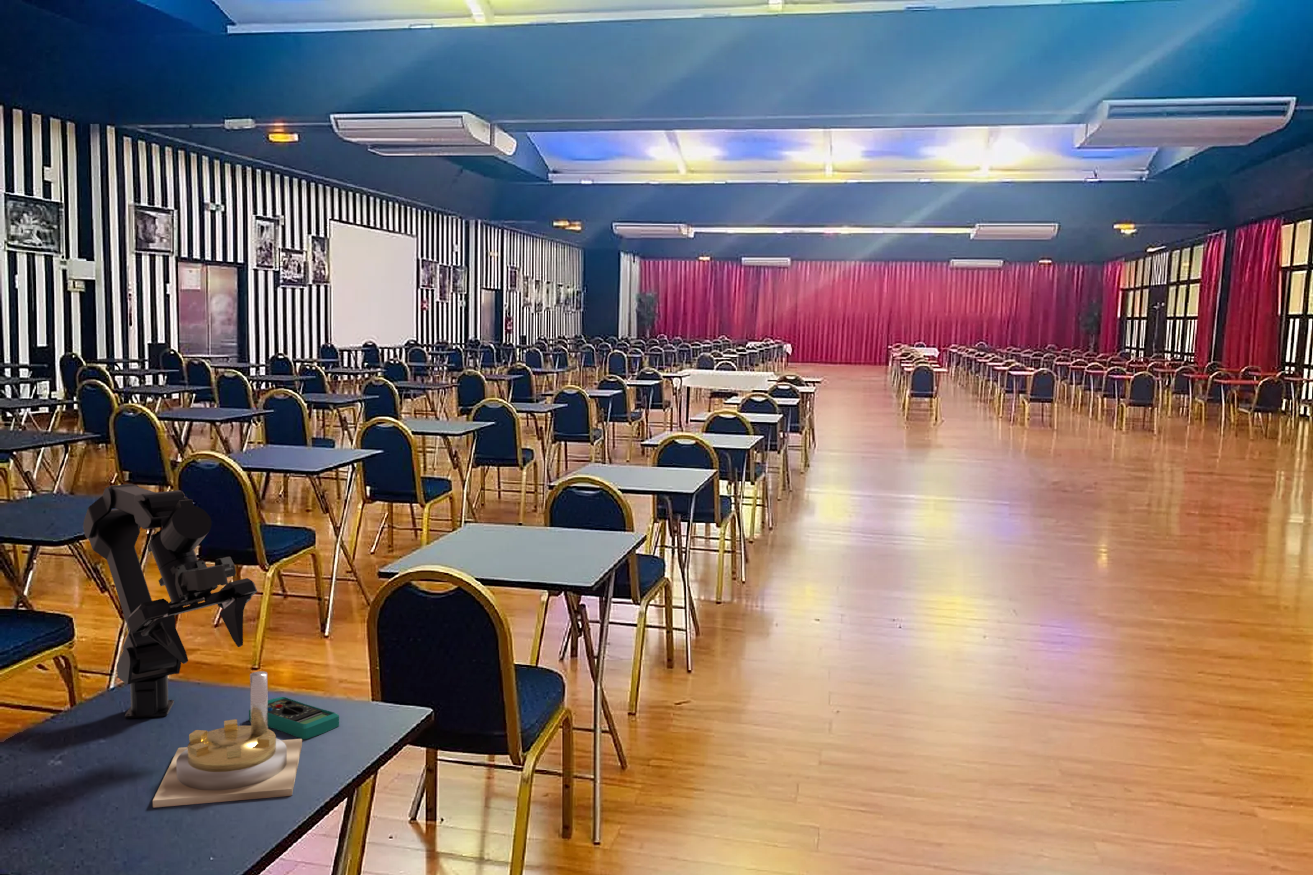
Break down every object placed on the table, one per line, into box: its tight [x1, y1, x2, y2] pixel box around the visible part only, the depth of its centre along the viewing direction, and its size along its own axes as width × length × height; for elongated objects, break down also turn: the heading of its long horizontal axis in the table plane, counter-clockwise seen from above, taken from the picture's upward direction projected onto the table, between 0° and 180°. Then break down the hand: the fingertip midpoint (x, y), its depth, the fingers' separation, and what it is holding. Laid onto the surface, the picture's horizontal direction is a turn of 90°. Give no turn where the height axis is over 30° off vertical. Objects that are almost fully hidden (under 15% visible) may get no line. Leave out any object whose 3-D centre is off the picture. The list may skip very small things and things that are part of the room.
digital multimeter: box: [248, 696, 340, 740], centre depth 170 cm, size 7×15×3 cm, turn 59°
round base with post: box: [186, 670, 277, 772], centre depth 150 cm, size 12×12×11 cm
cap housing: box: [152, 737, 303, 808], centre depth 151 cm, size 18×18×3 cm
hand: (213, 654), depth 159 cm, fingers open, 9 cm apart
